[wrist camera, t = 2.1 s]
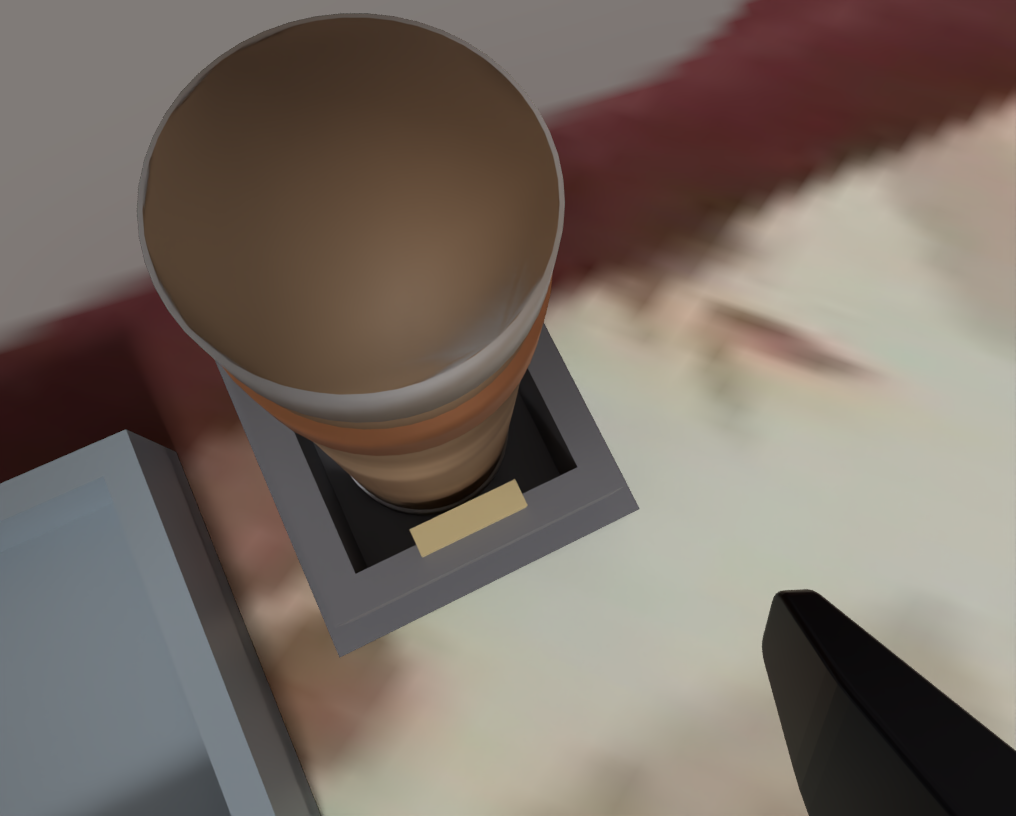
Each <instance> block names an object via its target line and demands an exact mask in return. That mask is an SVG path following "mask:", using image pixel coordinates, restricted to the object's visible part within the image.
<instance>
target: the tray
mask: <svg viewBox="0 0 1016 816" xmlns="http://www.w3.org/2000/svg"><path fill="white" fill-rule="evenodd" d="M0 816H321V815H320V812H319V810H318V807H317V805H316V802H315V800H314V797H313V795H312V792H311V790H310V787H309V785H308V782H307V780H306V777H305V775H304V772H303V770H302V767H301V765H300V762H299V760H298V757H297V755H296V752H295V750H294V747H293V745H292V742H291V740H290V737H289V734H288V732H287V729H286V727H285V724H284V722H283V719H282V717H281V714H280V712H279V709H278V707H277V704H276V702H275V699H274V697H273V694H272V692H271V689H270V687H269V684H268V682H267V679H266V677H265V674H264V672H263V669H262V667H261V664H260V662H259V659H258V657H257V654H256V652H255V649H254V647H253V644H252V642H251V639H250V637H249V634H248V632H247V629H246V626H245V624H244V621H243V619H242V616H241V614H240V611H239V609H238V606H237V604H236V601H235V599H234V596H233V594H232V591H231V589H230V586H229V584H228V581H227V579H226V576H225V574H224V571H223V569H222V566H221V564H220V561H219V559H218V556H217V554H216V551H215V549H214V546H213V544H212V541H211V539H210V536H209V534H208V531H207V529H206V526H205V524H204V521H203V519H202V516H201V513H200V511H199V508H198V506H197V503H196V501H195V498H194V496H193V493H192V491H191V488H190V486H189V483H188V481H187V478H186V476H185V473H184V471H183V468H182V466H181V463H180V461H179V458H178V456H177V453H176V452H175V451H173V450H171V449H169V448H166V447H164V446H162V445H160V444H157V443H155V442H153V441H151V440H149V439H146V438H144V437H142V436H140V435H137V434H135V433H133V432H131V431H129V430H126V429H125V430H123V431H121V432H119V433H116V434H114V435H112V436H109V437H107V438H105V439H102V440H100V441H98V442H95V443H93V444H91V445H88V446H86V447H84V448H82V449H79V450H77V451H75V452H72V453H70V454H68V455H65V456H63V457H61V458H58V459H56V460H54V461H51V462H49V463H47V464H45V465H42V466H40V467H38V468H35V469H33V470H31V471H28V472H26V473H24V474H21V475H19V476H17V477H14V478H12V479H10V480H8V481H5V482H3V483H1V484H0Z"/></svg>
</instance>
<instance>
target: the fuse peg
mask: <svg viewBox="0 0 1016 816" xmlns="http://www.w3.org/2000/svg"><path fill="white" fill-rule="evenodd" d="M564 207H565V199H564V184H563V176H562V171H561V166H560V162H559V157H558V153H557V150H556V148H555V145H554V142H553V139H552V137H551V134H550V131H549V129H548V128H547V126H546V124H545V122H544V120H543V118H542V116H541V114H540V112H539V111H538V109H537V108H536V106H535V105H534V103H533V102H532V101H531V99H530V98H529V97H528V95H527V94H526V92H525V91H524V90H523V88H522V87H521V86H520V85H519V84H518V83H517V82H516V81H515V80H514V79H513V78H512V77H511V76H510V74H509V73H508V72H507V71H506V70H504V69H503V68H502V67H501V66H500V65H498V64H497V63H496V62H495V61H494V60H492V59H491V58H490V57H489V56H488V55H486V54H485V53H483V52H481V51H480V50H478V49H477V48H475V47H474V46H472V45H471V44H469V43H467V42H466V41H464V40H462V39H460V38H457V37H455V36H453V35H451V34H449V33H447V32H445V31H443V30H440V29H437V28H434V27H432V26H428V25H426V24H423V23H420V22H417V21H412V20H408V19H403V18H398V17H394V16H386V15H377V14H368V13H364V14H362V13H359V14H355V13H354V14H333V15H325V16H316V17H311V18H306V19H302V20H298V21H293V22H290V23H286V24H283V25H281V26H278V27H275V28H272V29H269V30H267V31H264V32H262V33H260V34H258V35H256V36H253V37H252V38H249V39H248V40H246V41H243V42H241V43H239V44H238V45H236V46H235V47H233V48H232V49H230V50H229V51H227V52H226V53H224V54H222V55H221V56H219V57H218V58H217V59H216V60H214V61H213V62H212V63H211V64H210V65H208V66H207V67H206V68H205V69H203V70H202V71H201V72H200V73H199V74H198V75H197V76H196V77H195V78H194V79H193V80H192V81H191V82H190V83H189V84H188V85H187V86H186V87H185V88H184V89H183V90H182V92H181V93H180V94H179V96H178V97H177V98H176V100H175V101H174V102H173V104H172V105H171V106H170V108H169V109H168V111H167V112H166V113H165V115H164V117H163V119H162V121H161V123H160V124H159V126H158V128H157V130H156V132H155V134H154V136H153V138H152V141H151V143H150V146H149V149H148V151H147V154H146V157H145V160H144V164H143V168H142V173H141V177H140V182H139V188H138V203H137V218H138V230H139V239H140V244H141V248H142V252H143V257H144V261H145V264H146V267H147V269H148V272H149V274H150V277H151V279H152V282H153V284H154V287H155V289H156V290H157V292H158V294H159V296H160V297H161V299H162V301H163V303H164V304H165V306H166V308H167V309H168V311H169V312H170V313H171V315H172V316H173V317H174V319H175V320H176V321H177V322H178V324H179V325H180V326H181V327H182V329H183V330H184V331H185V332H186V333H187V334H188V335H189V336H190V337H191V338H192V339H193V340H194V341H195V342H196V343H197V344H198V345H199V346H201V347H202V348H203V349H204V350H205V351H206V352H207V353H208V354H209V355H210V356H212V357H213V358H214V359H215V360H216V361H217V362H218V363H219V364H221V366H222V367H223V368H224V370H225V371H226V372H227V373H228V375H229V376H230V377H231V378H232V380H233V381H234V382H235V383H236V384H237V385H238V386H240V387H241V388H242V389H243V390H244V391H245V392H246V393H247V394H248V395H249V396H250V397H251V398H252V399H253V400H255V401H256V402H257V403H258V404H259V405H261V406H262V407H263V408H264V409H265V410H266V411H268V412H269V413H270V414H271V415H272V416H273V417H275V418H276V419H277V420H278V421H280V422H281V423H283V424H284V425H285V426H287V427H288V428H289V429H291V430H292V431H294V432H295V433H297V434H299V435H301V436H303V437H305V438H307V439H309V440H311V441H312V442H314V443H315V444H316V445H317V446H319V447H320V448H321V449H322V450H323V451H324V452H325V453H326V454H327V455H328V456H330V457H331V458H332V459H333V460H334V461H335V462H336V463H337V464H338V465H339V466H340V467H342V468H343V469H344V470H345V471H346V472H347V473H348V474H349V475H350V476H351V477H352V478H353V480H354V481H355V482H356V483H357V485H358V486H359V487H361V488H362V489H363V490H364V491H365V492H366V493H367V494H368V495H369V496H370V497H372V498H373V499H374V500H376V501H377V502H379V503H380V504H382V505H384V506H386V507H387V508H389V509H392V510H395V511H397V512H400V513H405V514H409V515H419V516H428V515H437V514H443V513H445V512H447V511H449V510H452V509H454V508H456V507H458V506H460V505H462V504H464V503H466V502H468V501H470V500H472V499H474V498H476V497H477V496H478V495H479V494H481V493H482V492H483V491H484V489H485V488H486V487H487V486H488V485H489V484H490V482H491V481H492V480H493V478H494V477H495V475H496V473H497V471H498V469H499V468H500V465H501V463H502V460H503V457H504V454H505V450H506V445H507V441H508V433H509V425H510V421H511V417H512V413H513V409H514V405H515V401H516V397H517V393H518V389H519V385H520V381H521V379H522V378H523V376H524V374H525V372H526V370H527V368H528V366H529V364H530V363H531V360H532V357H533V354H534V352H535V349H536V346H537V344H538V340H539V336H540V333H541V329H542V326H543V322H544V319H545V315H546V311H547V307H548V302H549V298H550V293H551V284H552V272H553V268H554V264H555V261H556V257H557V253H558V248H559V244H560V239H561V235H562V230H563V221H564Z"/></svg>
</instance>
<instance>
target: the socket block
mask: <svg viewBox="0 0 1016 816" xmlns="http://www.w3.org/2000/svg"><path fill="white" fill-rule="evenodd" d="M215 361H216V360H215ZM216 364H217V366H218V368H219V371H220V373H221V376H222V378H223V380H224V383H225V385H226V388H227V390H228V392H229V395H230V397H231V399H232V402H233V404H234V407H235V409H236V411H237V414H238V416H239V419H240V421H241V423H242V426H243V428H244V430H245V433H246V435H247V438H248V440H249V442H250V445H251V447H252V450H253V452H254V454H255V457H256V459H257V462H258V464H259V466H260V469H261V471H262V473H263V476H264V478H265V481H266V483H267V485H268V488H269V490H270V493H271V495H272V497H273V500H274V502H275V504H276V507H277V509H278V512H279V514H280V516H281V519H282V521H283V524H284V526H285V528H286V531H287V533H288V535H289V538H290V540H291V543H292V545H293V547H294V550H295V552H296V555H297V557H298V559H299V562H300V564H301V566H302V569H303V571H304V574H305V576H306V578H307V581H308V583H309V586H310V588H311V590H312V593H313V595H314V597H315V600H316V602H317V605H318V607H319V609H320V612H321V614H322V617H323V619H324V621H325V624H326V626H327V628H328V631H329V633H330V636H331V638H332V640H333V643H334V645H335V648H336V650H337V652H338V655H339V657H342V656H344V655H346V654H348V653H350V652H352V651H354V650H356V649H358V648H360V647H362V646H364V645H366V644H368V643H370V642H372V641H374V640H376V639H378V638H380V637H382V636H384V635H386V634H388V633H390V632H392V631H394V630H396V629H398V628H400V627H402V626H404V625H406V624H408V623H410V622H412V621H414V620H416V619H418V618H420V617H422V616H424V615H426V614H428V613H430V612H432V611H434V610H436V609H438V608H440V607H442V606H445V605H447V604H449V603H451V602H453V601H455V600H457V599H459V598H461V597H463V596H465V595H467V594H469V593H471V592H473V591H475V590H477V589H479V588H481V587H483V586H485V585H487V584H489V583H491V582H493V581H495V580H497V579H499V578H501V577H503V576H505V575H507V574H509V573H511V572H513V571H515V570H517V569H519V568H521V567H523V566H525V565H527V564H529V563H531V562H533V561H535V560H537V559H539V558H541V557H543V556H545V555H547V554H549V553H551V552H553V551H556V550H558V549H560V548H562V547H564V546H566V545H568V544H570V543H572V542H574V541H576V540H578V539H580V538H582V537H584V536H586V535H588V534H590V533H592V532H594V531H596V530H598V529H600V528H602V527H604V526H606V525H608V524H610V523H612V522H614V521H616V520H618V519H620V518H622V517H624V516H626V515H628V514H630V513H632V512H634V511H636V510H638V509H639V507H638V505H637V503H636V501H635V499H634V497H633V495H632V493H631V491H630V489H629V487H628V485H627V483H626V481H625V479H624V477H623V475H622V473H621V471H620V470H619V468H618V466H617V464H616V462H615V460H614V458H613V456H612V454H611V452H610V450H609V448H608V446H607V444H606V442H605V440H604V439H603V437H602V435H601V433H600V431H599V429H598V427H597V425H596V423H595V421H594V419H593V417H592V415H591V413H590V411H589V409H588V408H587V406H586V404H585V402H584V400H583V398H582V396H581V394H580V392H579V390H578V388H577V386H576V384H575V382H574V380H573V378H572V377H571V375H570V373H569V371H568V369H567V367H566V365H565V363H564V361H563V359H562V357H561V355H560V353H559V351H558V349H557V347H556V346H555V344H554V342H553V340H552V338H551V336H550V334H549V332H548V330H547V328H546V326H545V324H544V322H543V326H542V329H541V333H540V336H539V340H538V344H537V346H536V349H535V352H534V354H533V357H532V360H531V363H530V364H529V366H528V368H527V370H526V372H525V374H524V376H523V378H522V379H521V381H520V385H519V389H518V393H517V397H516V401H515V405H514V409H513V413H512V417H511V421H510V425H509V433H508V441H507V445H506V450H505V454H504V457H503V460H502V463H501V465H500V468H499V469H498V471H497V473H496V475H495V477H494V478H493V480H492V481H491V482H490V484H489V485H488V486H487V487H486V488H485V489H484V491H483V492H482V493H481V494H479V495H478V496H477V497H476V498H474V499H472V500H470V501H468V502H466V503H464V504H462V505H460V506H458V507H456V508H454V509H452V510H449V511H447V512H445V513H443V514H437V515H428V516H419V515H409V514H405V513H400V512H397V511H395V510H392V509H389V508H387V507H386V506H384V505H382V504H380V503H379V502H377V501H376V500H374V499H373V498H372V497H370V496H369V495H368V494H367V493H366V492H365V491H364V490H363V489H362V488H361V487H359V486H358V485H357V483H356V482H355V481H354V480H353V478H352V477H351V476H350V475H349V474H348V473H347V472H346V471H345V470H344V469H343V468H342V467H340V466H339V465H338V464H337V463H336V462H335V461H334V460H333V459H332V458H331V457H330V456H328V455H327V454H326V453H325V452H324V451H323V450H322V449H321V448H320V447H319V446H317V445H316V444H315V443H314V442H312V441H311V440H309V439H307V438H305V437H303V436H301V435H299V434H297V433H295V432H294V431H292V430H291V429H289V428H288V427H287V426H285V425H284V424H283V423H281V422H280V421H278V420H277V419H276V418H275V417H273V416H272V415H271V414H270V413H269V412H268V411H266V410H265V409H264V408H263V407H262V406H261V405H259V404H258V403H257V402H256V401H255V400H253V399H252V398H251V397H250V396H249V395H248V394H247V393H246V392H245V391H244V390H243V389H242V388H241V387H240V386H238V385H237V384H236V383H235V382H234V381H233V380H232V378H231V377H230V376H229V375H228V373H227V372H226V371H225V370H224V368H223V367H222V366H221V364H219V363H218V362H217V361H216Z"/></svg>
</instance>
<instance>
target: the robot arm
mask: <svg viewBox="0 0 1016 816" xmlns="http://www.w3.org/2000/svg"><path fill="white" fill-rule="evenodd" d="M762 653H763V659H764V663H765V667H766V671H767V674H768V678H769V682H770V685H771V689H772V693H773V696H774V700H775V704H776V707H777V711H778V715H779V718H780V722H781V726H782V729H783V733H784V737H785V740H786V744H787V748H788V751H789V755H790V759H791V762H792V766H793V769H794V773H795V776H796V780H797V783H798V786H799V790H800V792H801V795H802V798H803V801H804V804H805V806H806V809H807V812H808V814H809V816H1016V751H1015V750H1014V749H1013V748H1012V747H1010V746H1009V745H1008V744H1007V743H1005V742H1004V741H1003V740H1002V739H1000V738H999V737H998V736H997V735H995V734H994V733H993V732H992V731H990V730H989V729H988V728H987V727H985V726H984V725H983V724H982V723H980V722H979V721H978V720H977V719H975V718H974V717H973V716H972V715H970V714H969V713H968V712H967V711H965V710H964V709H963V708H962V707H960V706H959V705H958V704H957V703H955V702H954V701H953V700H952V699H950V698H949V697H948V696H947V695H945V694H944V693H943V692H942V691H940V690H939V689H938V688H937V687H935V686H934V685H933V684H932V683H930V682H929V681H928V680H927V679H925V678H924V677H923V676H922V675H920V674H919V673H918V672H917V671H915V670H914V669H913V668H912V667H910V666H909V665H908V664H906V663H905V662H904V661H903V660H901V659H900V658H899V657H898V656H896V655H895V654H894V653H893V652H891V651H890V650H889V649H888V648H886V647H885V646H884V645H883V644H881V643H880V642H879V641H878V640H876V639H875V638H874V637H873V636H871V635H870V634H869V633H868V632H866V631H865V630H864V629H863V628H861V627H860V626H859V625H858V624H856V623H855V622H854V621H853V620H851V619H850V618H849V617H848V616H846V615H845V614H844V613H843V612H841V611H840V610H839V609H838V608H836V607H835V606H834V605H833V604H831V603H830V602H829V601H828V600H826V599H825V598H824V597H823V596H821V595H820V594H819V593H817V592H815V591H813V590H809V589H803V590H785V591H780V592H778V593H777V594H776V595H775V596H774V598H773V601H772V604H771V608H770V612H769V616H768V620H767V624H766V627H765V631H764V635H763V640H762Z"/></svg>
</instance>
